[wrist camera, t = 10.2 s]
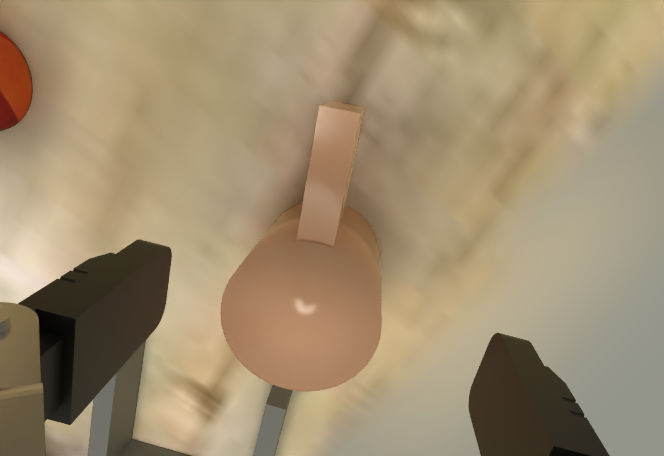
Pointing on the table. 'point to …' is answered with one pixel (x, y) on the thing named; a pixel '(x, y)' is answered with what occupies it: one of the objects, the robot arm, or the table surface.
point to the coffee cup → (13, 84)
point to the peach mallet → (311, 276)
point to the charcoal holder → (120, 406)
